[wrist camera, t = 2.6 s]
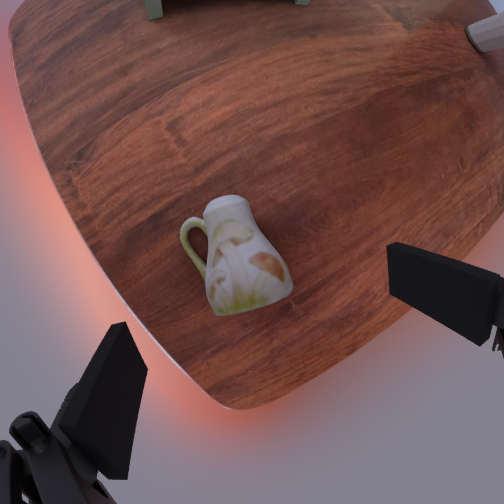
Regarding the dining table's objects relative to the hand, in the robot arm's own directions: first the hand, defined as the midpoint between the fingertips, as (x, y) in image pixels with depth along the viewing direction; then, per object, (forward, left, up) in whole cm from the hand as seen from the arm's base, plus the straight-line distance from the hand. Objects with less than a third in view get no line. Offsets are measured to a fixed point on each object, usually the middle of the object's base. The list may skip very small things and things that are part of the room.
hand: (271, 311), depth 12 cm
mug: (0, 0, -14) cm, 14 cm away
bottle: (-29, +55, -14) cm, 64 cm away
